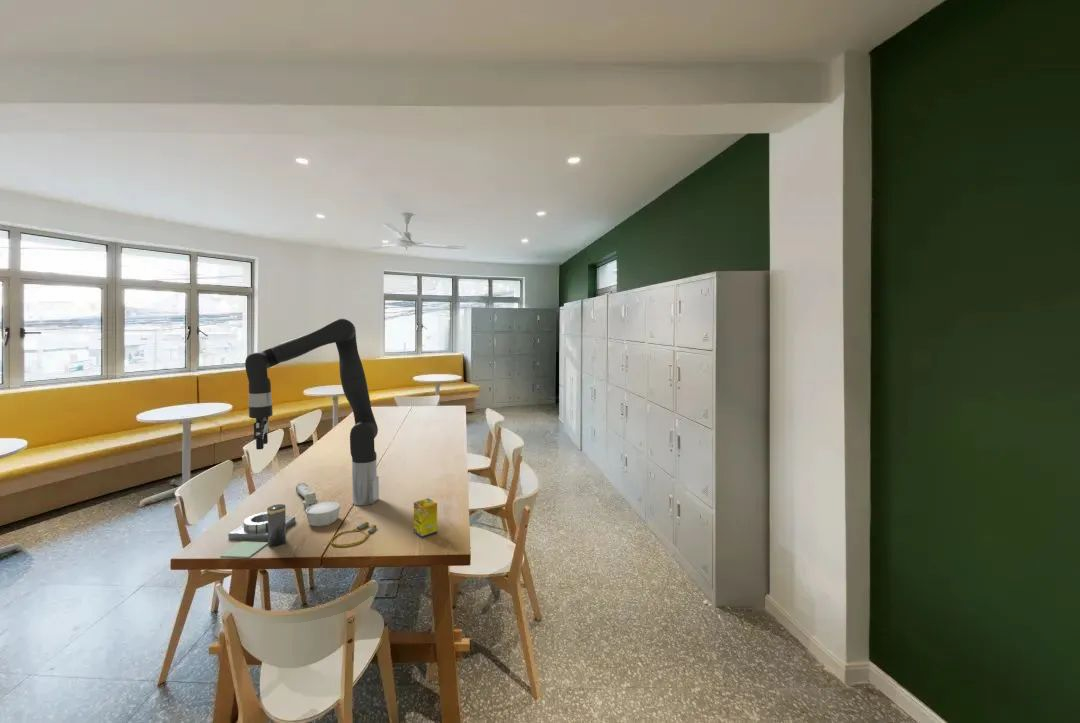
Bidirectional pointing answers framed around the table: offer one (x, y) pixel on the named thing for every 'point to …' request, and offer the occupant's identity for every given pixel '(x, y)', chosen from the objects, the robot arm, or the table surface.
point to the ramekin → (322, 513)
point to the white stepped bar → (306, 495)
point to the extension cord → (355, 530)
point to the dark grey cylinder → (276, 525)
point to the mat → (244, 549)
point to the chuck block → (255, 527)
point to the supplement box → (425, 517)
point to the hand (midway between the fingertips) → (262, 446)
